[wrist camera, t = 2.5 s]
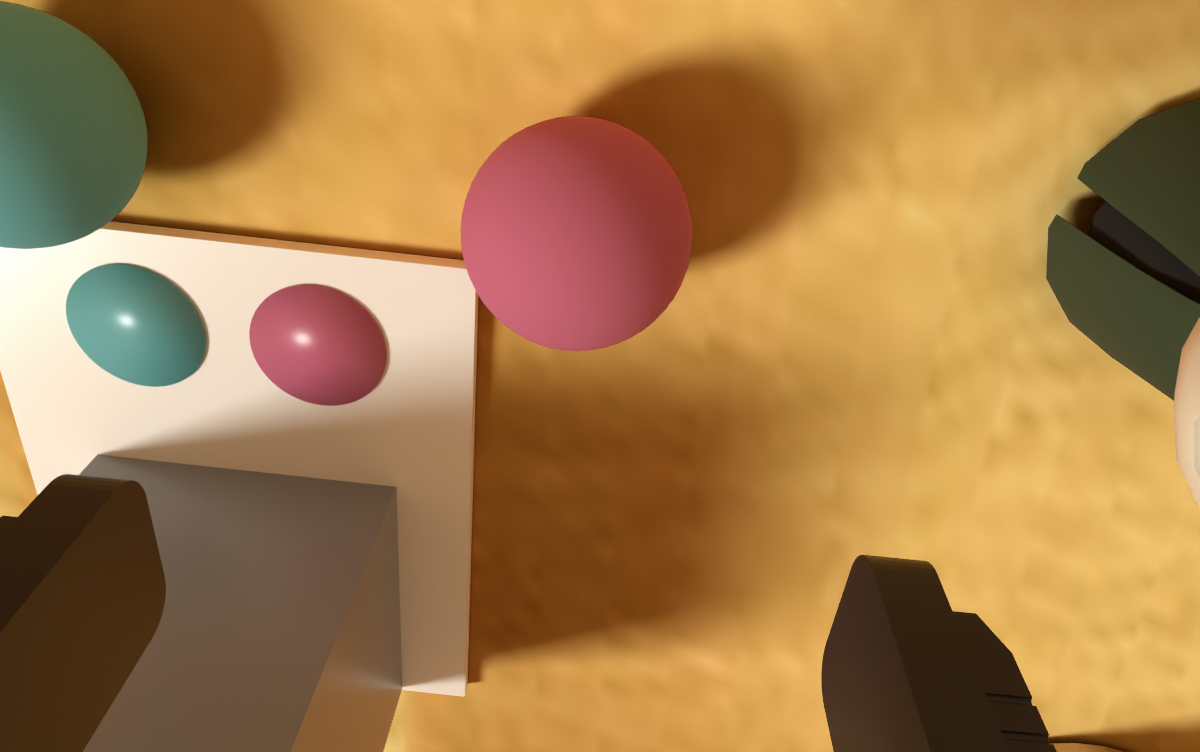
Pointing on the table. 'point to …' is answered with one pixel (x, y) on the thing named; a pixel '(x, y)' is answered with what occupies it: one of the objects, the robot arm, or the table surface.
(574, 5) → the table surface
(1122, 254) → the character mug
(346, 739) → the tube card
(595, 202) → the pink ball
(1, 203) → the teal ball
